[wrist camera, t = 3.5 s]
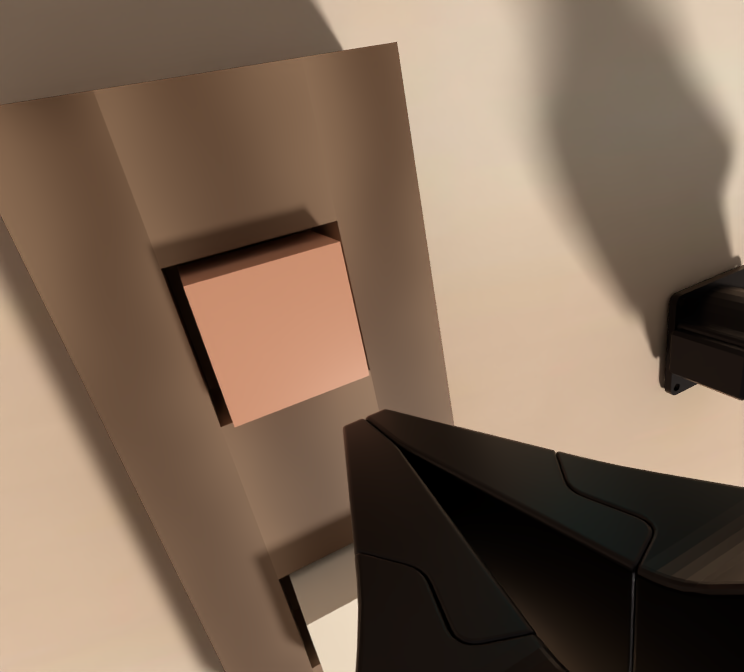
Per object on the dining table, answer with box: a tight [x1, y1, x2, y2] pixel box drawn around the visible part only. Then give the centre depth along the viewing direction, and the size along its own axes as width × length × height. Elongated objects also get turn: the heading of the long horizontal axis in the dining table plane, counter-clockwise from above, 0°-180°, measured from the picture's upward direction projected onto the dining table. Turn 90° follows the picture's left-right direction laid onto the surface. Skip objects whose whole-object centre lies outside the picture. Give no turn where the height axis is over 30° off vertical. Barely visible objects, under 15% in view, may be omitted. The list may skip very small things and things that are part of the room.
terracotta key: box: [177, 230, 369, 427], centre depth 15 cm, size 4×4×3 cm
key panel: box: [0, 42, 454, 672], centre depth 19 cm, size 11×26×4 cm, turn 12°
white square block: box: [289, 543, 358, 672], centre depth 19 cm, size 4×4×3 cm
